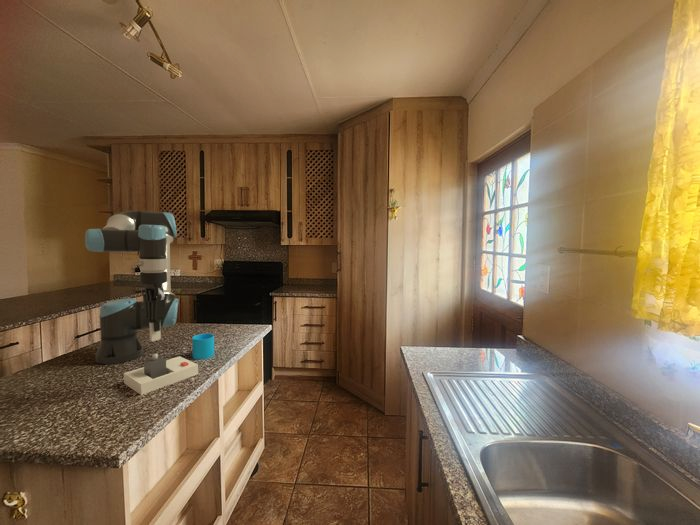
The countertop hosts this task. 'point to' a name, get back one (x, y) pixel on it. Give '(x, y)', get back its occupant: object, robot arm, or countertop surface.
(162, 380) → the socket plate
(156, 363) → the plug
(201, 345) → the mug
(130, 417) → the countertop surface
